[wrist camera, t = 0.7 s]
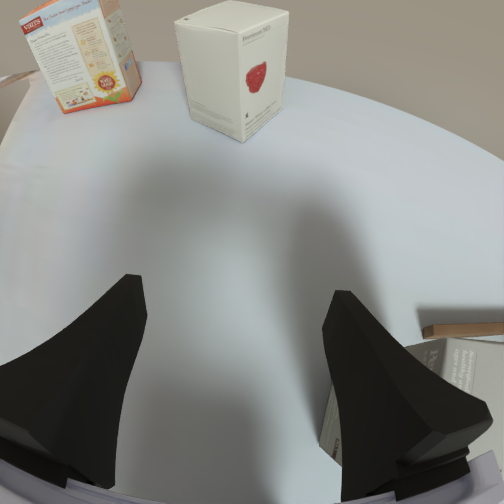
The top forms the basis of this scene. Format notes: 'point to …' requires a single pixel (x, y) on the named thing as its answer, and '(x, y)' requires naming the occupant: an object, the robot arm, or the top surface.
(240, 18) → the supplement box
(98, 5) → the cracker box
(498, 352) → the skincare box
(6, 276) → the top surface
